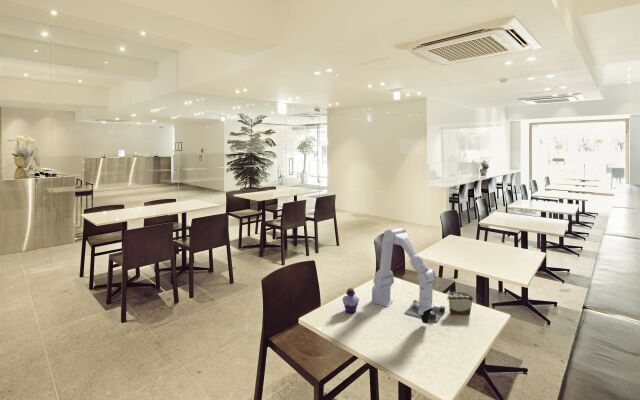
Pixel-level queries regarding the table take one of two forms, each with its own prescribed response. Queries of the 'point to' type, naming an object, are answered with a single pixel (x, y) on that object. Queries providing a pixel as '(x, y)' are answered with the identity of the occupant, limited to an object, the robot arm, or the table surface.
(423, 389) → the table surface
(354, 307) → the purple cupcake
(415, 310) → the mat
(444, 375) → the table surface
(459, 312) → the food container
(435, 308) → the tongs fixed
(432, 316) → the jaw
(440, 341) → the table surface
